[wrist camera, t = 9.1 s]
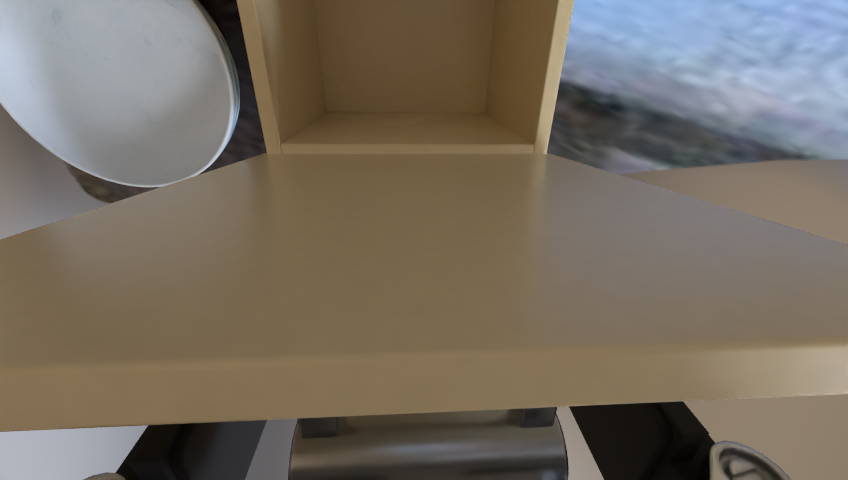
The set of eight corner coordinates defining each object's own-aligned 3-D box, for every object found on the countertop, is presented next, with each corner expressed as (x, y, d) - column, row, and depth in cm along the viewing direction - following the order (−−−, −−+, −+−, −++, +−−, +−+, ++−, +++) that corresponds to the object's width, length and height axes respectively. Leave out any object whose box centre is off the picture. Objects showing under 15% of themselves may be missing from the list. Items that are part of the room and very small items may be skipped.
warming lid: (-462, 386, 3) (-128, 671, 5) (1140, 330, 4) (909, 585, 6) (263, 153, 18) (277, 241, 20) (549, 153, 19) (538, 237, 21)
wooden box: (291, -118, 24) (175, -306, 11) (513, -108, 25) (624, -271, 12) (320, 119, 31) (267, 158, 19) (490, 120, 32) (545, 158, 20)
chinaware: (278, 167, 33) (245, 195, 26) (107, 151, 31) (24, 177, 24) (261, -28, 26) (212, -59, 19) (41, -60, 24) (-100, -107, 17)
